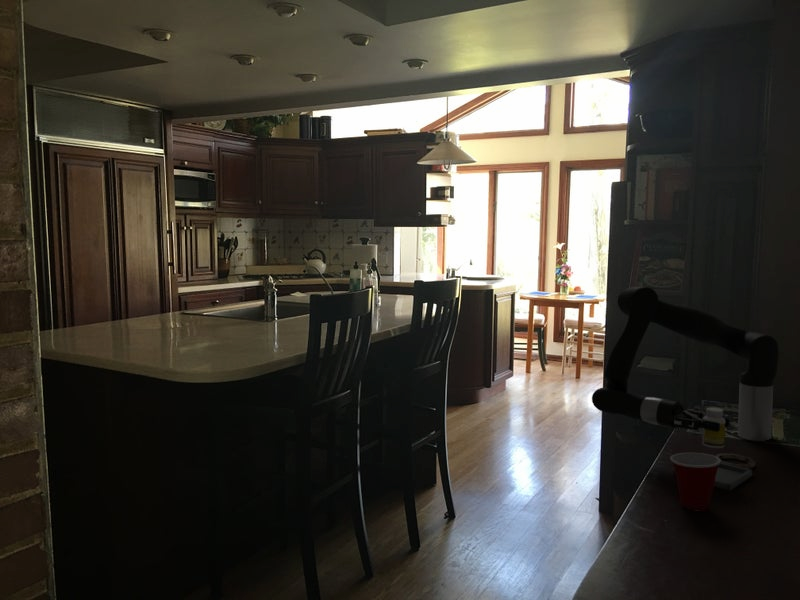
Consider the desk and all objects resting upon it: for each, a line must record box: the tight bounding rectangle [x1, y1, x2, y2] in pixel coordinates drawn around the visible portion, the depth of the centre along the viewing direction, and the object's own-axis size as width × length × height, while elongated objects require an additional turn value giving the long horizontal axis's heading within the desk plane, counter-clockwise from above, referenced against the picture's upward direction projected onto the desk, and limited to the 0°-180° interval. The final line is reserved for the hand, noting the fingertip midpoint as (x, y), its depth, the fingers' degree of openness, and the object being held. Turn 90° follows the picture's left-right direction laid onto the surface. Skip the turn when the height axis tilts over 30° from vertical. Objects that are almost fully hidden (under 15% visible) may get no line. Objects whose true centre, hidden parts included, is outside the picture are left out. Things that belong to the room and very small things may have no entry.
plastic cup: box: [669, 452, 722, 512], centre depth 149 cm, size 11×11×12 cm
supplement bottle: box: [701, 407, 726, 449], centre depth 167 cm, size 5×5×10 cm
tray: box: [673, 462, 753, 492], centre depth 169 cm, size 15×14×2 cm
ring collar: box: [715, 453, 756, 470], centre depth 178 cm, size 10×10×1 cm
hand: (724, 425), depth 165 cm, fingers closed on supplement bottle, 5 cm apart
